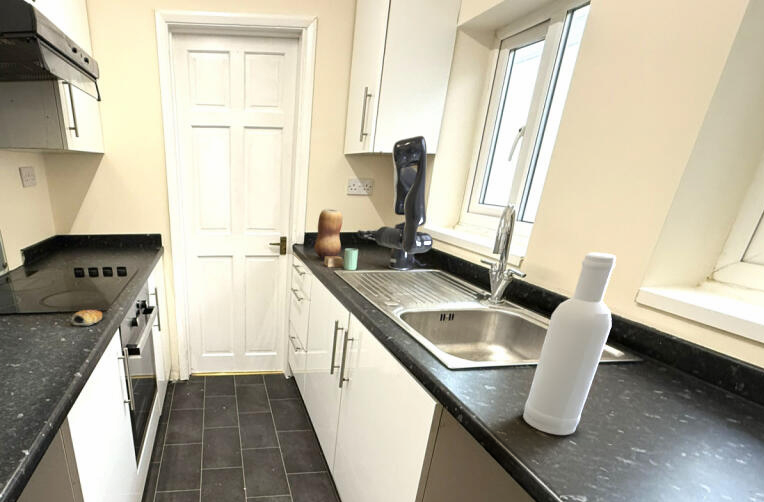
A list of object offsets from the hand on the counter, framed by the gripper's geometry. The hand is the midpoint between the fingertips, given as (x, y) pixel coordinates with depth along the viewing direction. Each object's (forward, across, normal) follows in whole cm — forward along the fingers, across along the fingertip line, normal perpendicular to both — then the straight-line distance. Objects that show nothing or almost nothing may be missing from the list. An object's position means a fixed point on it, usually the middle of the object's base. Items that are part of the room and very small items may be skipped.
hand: (366, 232), depth 177 cm
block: (+20, +4, +18) cm, 27 cm away
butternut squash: (+35, 0, +18) cm, 40 cm away
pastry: (-30, +114, +19) cm, 120 cm away
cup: (+11, 0, +18) cm, 21 cm away
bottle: (-114, +34, +19) cm, 120 cm away
